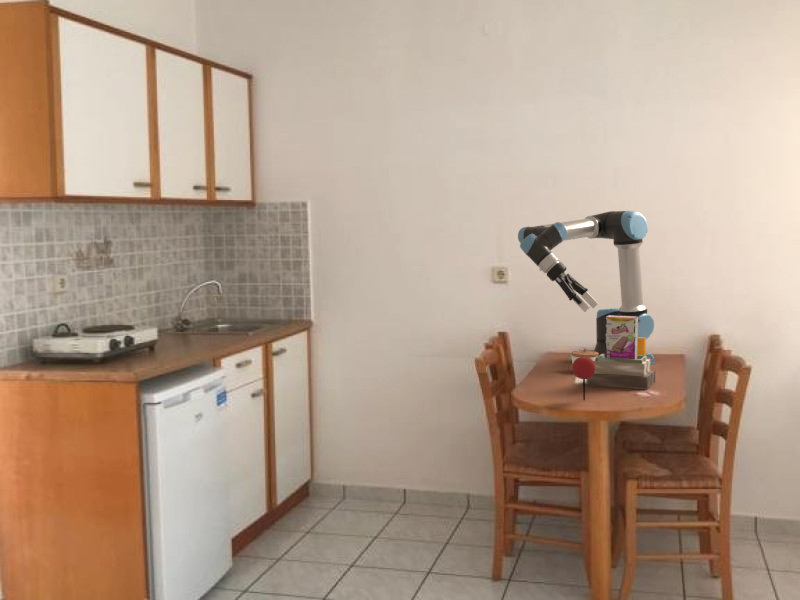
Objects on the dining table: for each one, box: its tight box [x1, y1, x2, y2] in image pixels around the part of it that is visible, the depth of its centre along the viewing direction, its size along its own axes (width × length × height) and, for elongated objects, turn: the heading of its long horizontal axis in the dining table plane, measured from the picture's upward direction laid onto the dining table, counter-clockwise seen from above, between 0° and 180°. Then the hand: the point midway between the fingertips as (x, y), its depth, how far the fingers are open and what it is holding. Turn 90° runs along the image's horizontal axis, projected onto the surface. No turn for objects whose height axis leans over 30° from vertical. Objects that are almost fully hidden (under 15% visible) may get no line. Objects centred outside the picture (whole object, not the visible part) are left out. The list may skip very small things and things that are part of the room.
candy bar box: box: [605, 315, 638, 360], centre depth 342 cm, size 11×5×16 cm, turn 65°
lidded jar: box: [571, 348, 599, 364], centre depth 371 cm, size 11×11×9 cm
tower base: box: [586, 354, 656, 391], centre depth 343 cm, size 16×22×10 cm
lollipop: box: [571, 357, 595, 401], centre depth 314 cm, size 8×8×15 cm
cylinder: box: [637, 337, 655, 366], centre depth 360 cm, size 12×10×15 cm
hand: (591, 307), depth 347 cm, fingers open, 13 cm apart
